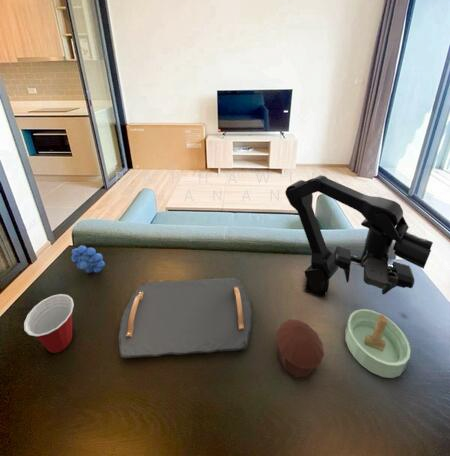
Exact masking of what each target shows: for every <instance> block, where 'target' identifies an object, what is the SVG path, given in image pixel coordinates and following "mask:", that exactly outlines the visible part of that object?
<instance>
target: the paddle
mask: <svg viewBox="0 0 450 456" xmlns="http://www.w3.org/2000/svg"><path fill="white" fill-rule="evenodd" d="M383 315H384V314H382V315H379V316H378V320H377V323H376V326H375V329H374V332H373V335H372V336H370V335H366V338H365V341H364V342H365V345H367V346H370V347H372V348H375V349H377V350H380V351H383V350H384V348H385V345H386V343H385V341H384V340H381V338H382V336H383V333H384V330H385V327H386V324H387V321H388V320H387V318H388V317H387V316H386V315H384V316H383ZM386 317H387V318H386Z"/></svg>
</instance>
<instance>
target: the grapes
mask: <svg viewBox="0 0 450 456" xmlns="http://www.w3.org/2000/svg"><path fill="white" fill-rule="evenodd" d="M103 259H104V257H103V255H102V253H100V252H99V253H98V252H97V253H96V249H95V248H94V247H87V246H86V245H79V246H77V247H76V248H72V250H71V257H70V260H71V262H72V263H75V264H76V268H77V269H79V270H83V271H85V272H86V273H87V274H91V273H93V272H94V273H96V274H98V273H100V272H102V269H103V268H105V267H106V263H105V261H104V260H103Z"/></svg>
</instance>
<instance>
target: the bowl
mask: <svg viewBox="0 0 450 456" xmlns="http://www.w3.org/2000/svg"><path fill="white" fill-rule="evenodd" d="M379 315H383V316H385V315H384V314H382V313H380V312H378V311H374V310H372V309H365V308H364V309H363V308H361V309H358V310H354V311H353V312H352V313H350V315H349V318H348V320H347V323H346V328H345V331H344V340H345V343H346V346H347V349H348V350H349V351H350V354H351V355H352V357H353V358H354V359H355V360H356V362H358V363H359V364H360V365H361V366H362V367H363V368H364V369H366V370H367V371H369V372H370V373H372V374H374V375H377V376H378V377H382V378H388V379H395V378H397V377H400V376H401V375H402V374H403V372H404V371H405V369H406V368H407V365H408V364H409V363H408V362H409V360H410V358H411V345H410V343H409V340H408V338H407V336H406V335H405V333H404V332H403V330H401V328H400V327H399V326H398V325H397V324H396V323H395V322H394V321H392V320H391V319H390V318H389V317H387V316H385V317H386V318H387V320H388V321H387V324H386V327H385V330H384V333H383V336H382V338H381V340H384V341H385V343H386V345H385V348H384V350H383V351H380V350H377V349H375V348H372V347H370V346H367V345H365V342H364V341H365V338H366V335H370V336H372V335H373V332H374V329H375V326H376V323H377V320H378V316H379Z"/></svg>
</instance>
